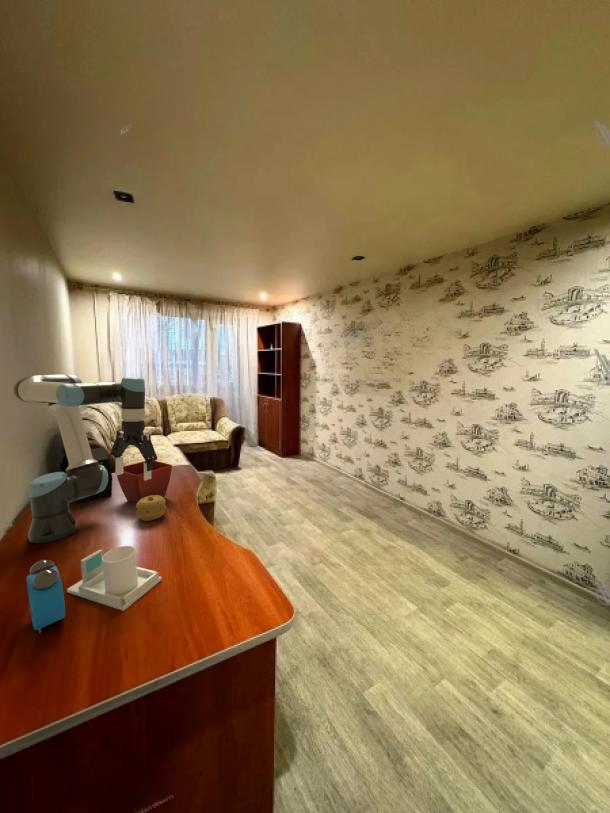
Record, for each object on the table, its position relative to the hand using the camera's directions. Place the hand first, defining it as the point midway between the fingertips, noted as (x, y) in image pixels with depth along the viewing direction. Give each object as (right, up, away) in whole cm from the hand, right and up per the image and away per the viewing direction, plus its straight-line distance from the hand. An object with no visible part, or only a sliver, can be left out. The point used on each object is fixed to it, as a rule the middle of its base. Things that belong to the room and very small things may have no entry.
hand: (133, 476), depth 117 cm
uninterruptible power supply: (-51, -20, +54) cm, 77 cm away
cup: (+9, -27, -24) cm, 37 cm away
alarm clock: (-2, -29, -36) cm, 46 cm away
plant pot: (-16, -21, +41) cm, 49 cm away
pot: (-3, -23, +21) cm, 31 cm away
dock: (+7, -27, -23) cm, 36 cm away
